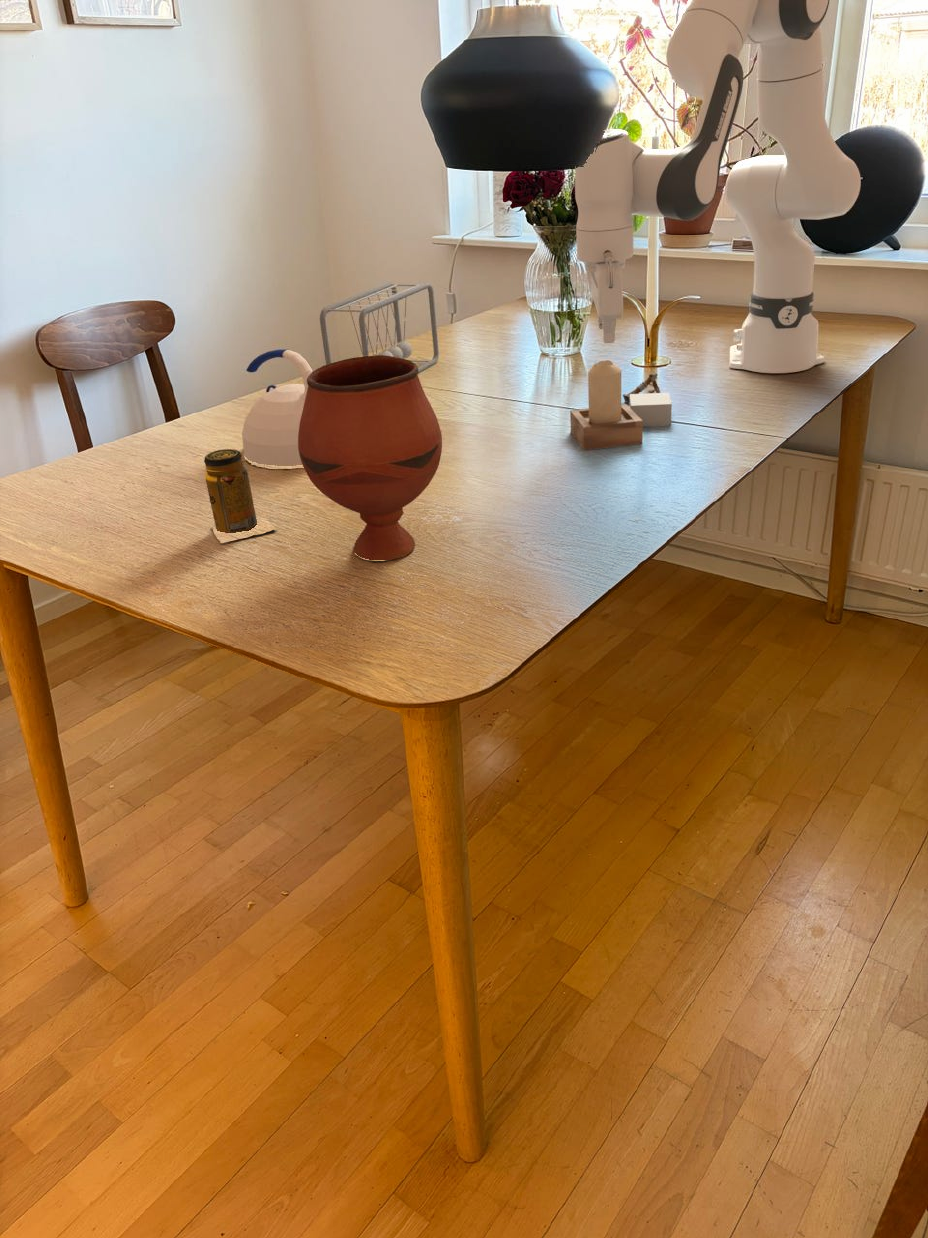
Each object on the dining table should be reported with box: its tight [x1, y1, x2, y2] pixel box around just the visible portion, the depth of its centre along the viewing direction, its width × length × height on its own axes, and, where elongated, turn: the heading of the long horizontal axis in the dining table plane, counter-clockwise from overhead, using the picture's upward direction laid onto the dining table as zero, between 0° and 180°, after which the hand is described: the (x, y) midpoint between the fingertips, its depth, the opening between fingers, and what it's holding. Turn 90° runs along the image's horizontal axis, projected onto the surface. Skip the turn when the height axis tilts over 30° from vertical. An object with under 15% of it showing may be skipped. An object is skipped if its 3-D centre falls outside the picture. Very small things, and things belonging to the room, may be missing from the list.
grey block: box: [629, 392, 673, 427], centre depth 176 cm, size 7×7×4 cm
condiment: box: [203, 448, 257, 533], centre depth 143 cm, size 7×8×12 cm
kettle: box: [241, 348, 314, 466], centre depth 172 cm, size 20×21×18 cm
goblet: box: [298, 354, 443, 561], centre depth 130 cm, size 19×19×25 cm
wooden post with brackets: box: [622, 372, 661, 404], centre depth 187 cm, size 2×8×4 cm, turn 120°
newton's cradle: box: [319, 281, 440, 374], centre depth 210 cm, size 30×10×18 cm, turn 153°
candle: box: [587, 359, 622, 424], centre depth 166 cm, size 6×6×10 cm
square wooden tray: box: [569, 403, 644, 451], centre depth 169 cm, size 10×10×4 cm
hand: (606, 334), depth 161 cm, fingers open, 8 cm apart
